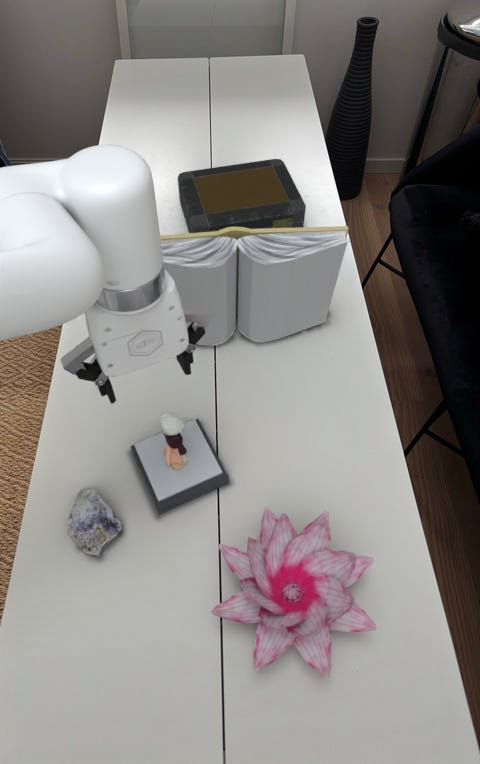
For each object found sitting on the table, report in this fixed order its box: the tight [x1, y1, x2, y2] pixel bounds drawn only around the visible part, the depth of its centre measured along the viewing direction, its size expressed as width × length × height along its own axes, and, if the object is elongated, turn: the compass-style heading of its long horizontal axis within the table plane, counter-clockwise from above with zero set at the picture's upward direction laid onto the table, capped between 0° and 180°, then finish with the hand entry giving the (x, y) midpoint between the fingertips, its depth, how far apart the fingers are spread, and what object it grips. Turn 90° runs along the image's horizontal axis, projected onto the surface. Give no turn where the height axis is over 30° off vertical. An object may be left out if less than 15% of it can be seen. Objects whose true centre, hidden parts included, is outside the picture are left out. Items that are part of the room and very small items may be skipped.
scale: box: [130, 418, 230, 516], centre depth 88 cm, size 12×12×3 cm
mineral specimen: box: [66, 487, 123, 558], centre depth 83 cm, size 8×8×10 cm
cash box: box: [177, 158, 307, 233], centre depth 123 cm, size 25×20×8 cm
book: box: [160, 225, 350, 347], centre depth 96 cm, size 36×8×24 cm, turn 95°
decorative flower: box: [210, 505, 378, 679], centre depth 72 cm, size 21×21×15 cm
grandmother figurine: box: [159, 412, 188, 470], centre depth 82 cm, size 8×4×13 cm, turn 40°
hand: (147, 380), depth 67 cm, fingers open, 9 cm apart
